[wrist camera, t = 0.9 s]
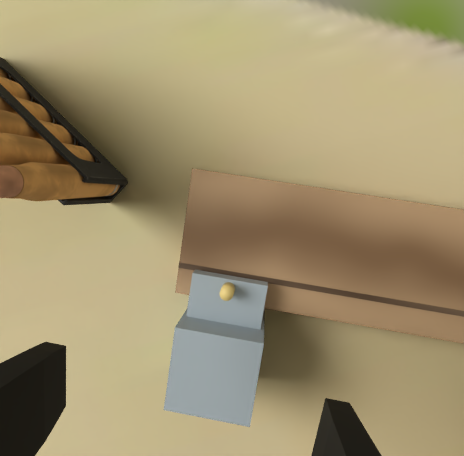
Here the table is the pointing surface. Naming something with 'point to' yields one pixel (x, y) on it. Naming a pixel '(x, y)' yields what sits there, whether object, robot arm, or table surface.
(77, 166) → the ammunition clip
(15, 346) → the table surface
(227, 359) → the grey stepped block
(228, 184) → the board
